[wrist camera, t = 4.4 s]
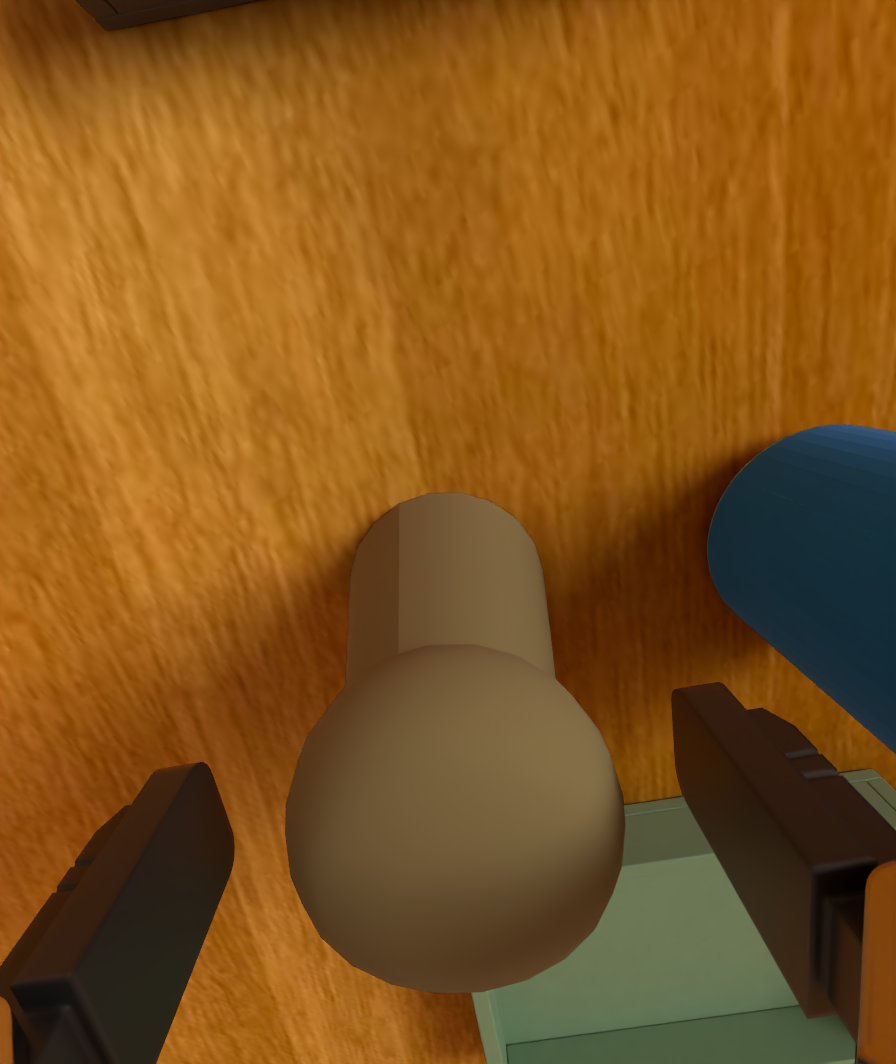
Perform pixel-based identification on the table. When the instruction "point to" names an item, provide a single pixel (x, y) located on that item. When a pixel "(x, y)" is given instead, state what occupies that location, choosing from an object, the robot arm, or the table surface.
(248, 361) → the table surface
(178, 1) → the charcoal tray
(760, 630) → the beverage can
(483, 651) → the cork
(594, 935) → the green tray
